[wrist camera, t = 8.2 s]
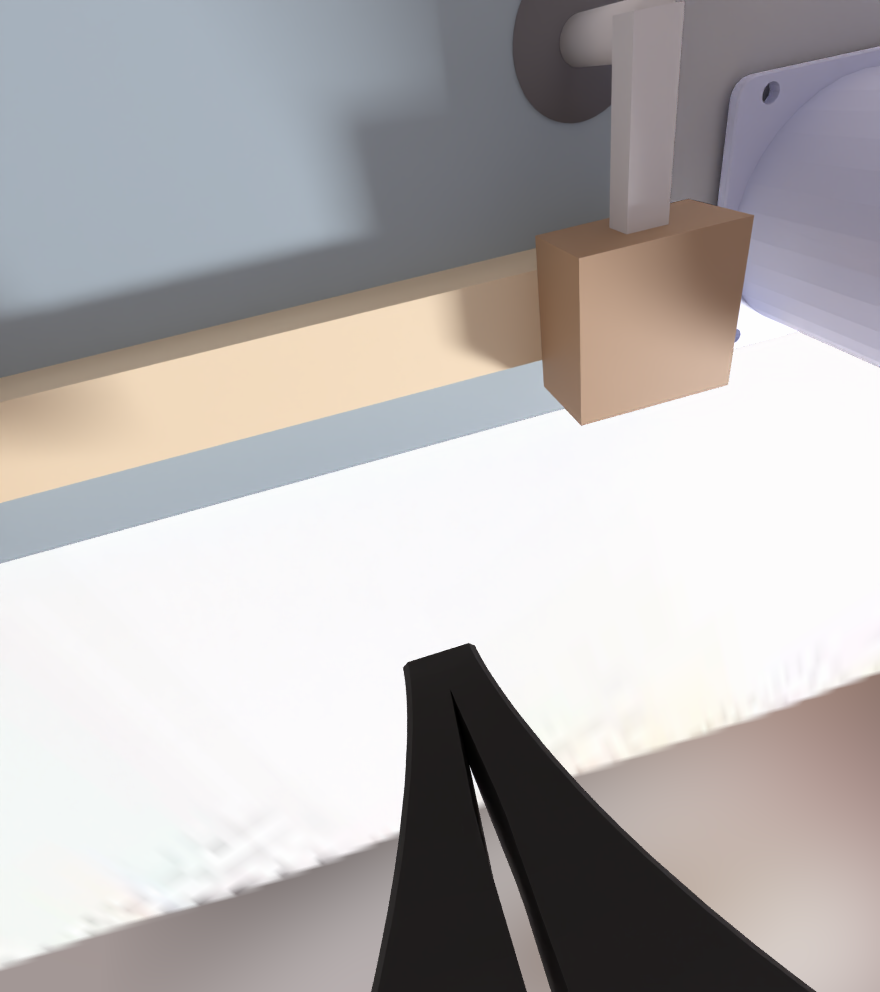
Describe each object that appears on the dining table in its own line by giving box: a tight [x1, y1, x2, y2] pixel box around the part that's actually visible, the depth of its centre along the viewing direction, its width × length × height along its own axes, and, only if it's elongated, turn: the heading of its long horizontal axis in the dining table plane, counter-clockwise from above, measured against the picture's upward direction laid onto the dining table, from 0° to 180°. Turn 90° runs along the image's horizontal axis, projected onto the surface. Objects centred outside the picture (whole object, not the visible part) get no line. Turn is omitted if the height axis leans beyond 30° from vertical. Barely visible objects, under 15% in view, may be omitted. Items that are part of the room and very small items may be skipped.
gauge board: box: [0, 0, 754, 563], centre depth 13 cm, size 24×12×5 cm, turn 98°
